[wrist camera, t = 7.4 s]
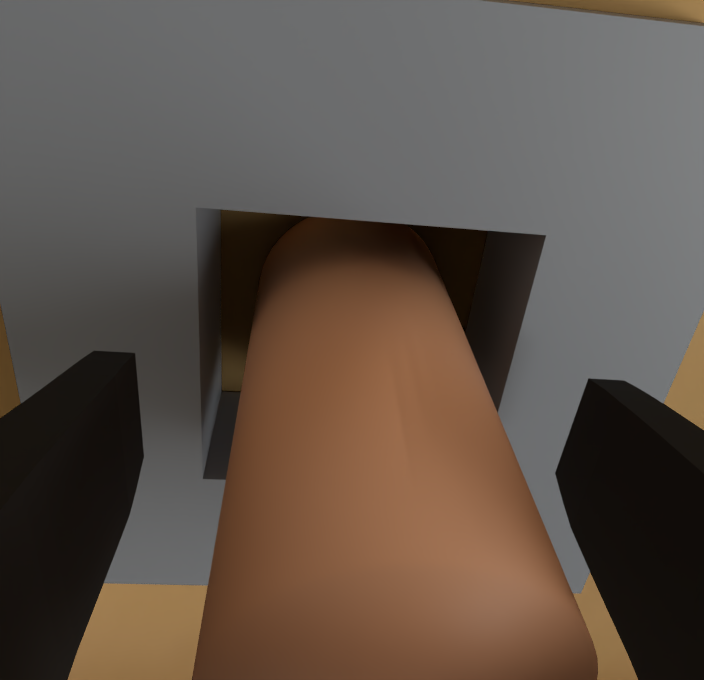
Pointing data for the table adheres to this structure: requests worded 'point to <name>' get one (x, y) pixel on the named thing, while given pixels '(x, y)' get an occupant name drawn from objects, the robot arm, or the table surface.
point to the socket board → (345, 204)
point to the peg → (376, 487)
